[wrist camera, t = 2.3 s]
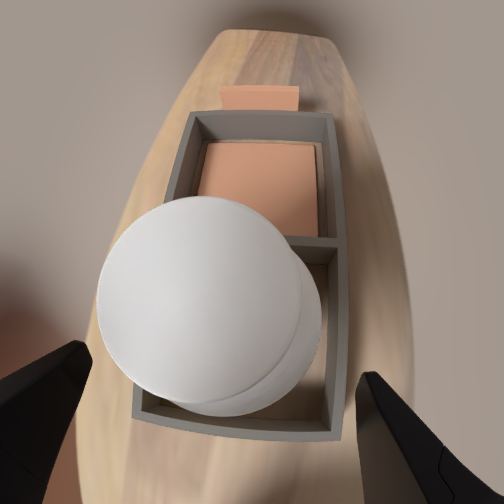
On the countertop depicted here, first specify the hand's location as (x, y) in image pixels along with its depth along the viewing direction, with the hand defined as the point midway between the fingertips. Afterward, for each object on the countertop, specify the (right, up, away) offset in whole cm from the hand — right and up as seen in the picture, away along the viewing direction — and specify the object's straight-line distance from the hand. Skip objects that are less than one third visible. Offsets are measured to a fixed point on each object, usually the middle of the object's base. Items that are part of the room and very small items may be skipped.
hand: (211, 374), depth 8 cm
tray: (+1, +3, +12) cm, 12 cm away
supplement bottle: (+1, -2, +10) cm, 10 cm away
